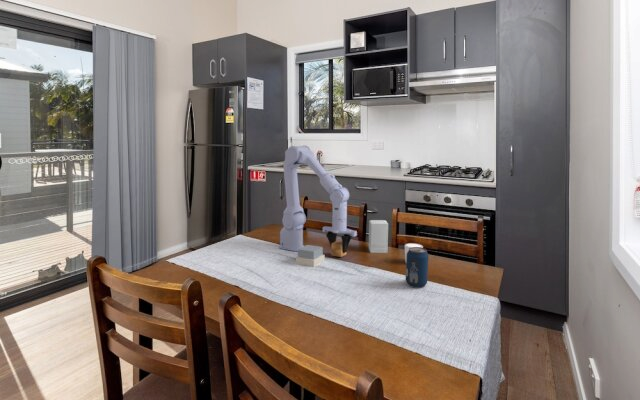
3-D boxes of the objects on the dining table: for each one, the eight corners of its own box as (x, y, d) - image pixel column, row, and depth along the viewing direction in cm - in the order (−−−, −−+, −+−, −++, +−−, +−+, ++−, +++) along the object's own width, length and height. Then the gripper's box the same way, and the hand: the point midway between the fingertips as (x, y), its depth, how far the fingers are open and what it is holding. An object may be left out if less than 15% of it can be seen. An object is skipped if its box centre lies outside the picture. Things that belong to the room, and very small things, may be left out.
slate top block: (297, 256, 150) (297, 249, 150) (307, 252, 156) (307, 244, 156) (313, 259, 147) (313, 251, 146) (322, 254, 153) (322, 247, 152)
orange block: (331, 255, 158) (331, 243, 157) (336, 252, 162) (336, 240, 161) (341, 257, 156) (341, 244, 155) (346, 254, 159) (346, 242, 159)
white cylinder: (422, 266, 147) (423, 248, 146) (403, 265, 148) (404, 247, 147) (421, 260, 154) (422, 243, 153) (403, 259, 155) (404, 242, 154)
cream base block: (296, 264, 150) (295, 257, 150) (307, 258, 157) (307, 251, 157) (313, 268, 146) (313, 260, 146) (324, 262, 153) (324, 254, 153)
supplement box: (387, 253, 163) (388, 223, 161) (369, 253, 164) (370, 223, 161) (385, 248, 171) (386, 219, 169) (368, 248, 171) (368, 219, 169)
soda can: (423, 280, 133) (425, 246, 131) (429, 288, 126) (431, 252, 124) (403, 280, 133) (404, 246, 131) (408, 288, 126) (410, 252, 124)
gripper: (318, 217, 156) (318, 250, 159) (351, 222, 149) (350, 256, 151) (327, 214, 162) (327, 246, 165) (359, 219, 155) (358, 252, 157)
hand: (339, 251), depth 158 cm, fingers closed on orange block, 4 cm apart
